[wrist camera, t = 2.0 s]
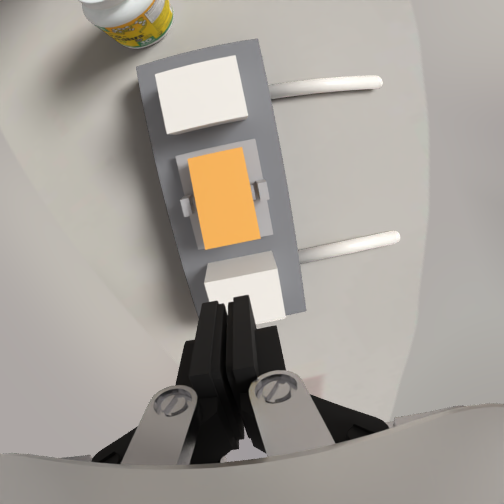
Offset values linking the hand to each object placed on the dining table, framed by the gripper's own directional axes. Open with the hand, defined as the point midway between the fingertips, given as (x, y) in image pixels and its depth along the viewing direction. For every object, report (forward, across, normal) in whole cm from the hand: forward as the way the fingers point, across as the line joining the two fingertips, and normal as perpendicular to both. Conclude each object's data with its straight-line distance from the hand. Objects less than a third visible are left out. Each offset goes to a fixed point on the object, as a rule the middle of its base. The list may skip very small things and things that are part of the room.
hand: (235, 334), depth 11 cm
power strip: (+16, -5, -3) cm, 17 cm away
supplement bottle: (+16, +4, -19) cm, 25 cm away
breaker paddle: (+11, 0, -3) cm, 12 cm away
